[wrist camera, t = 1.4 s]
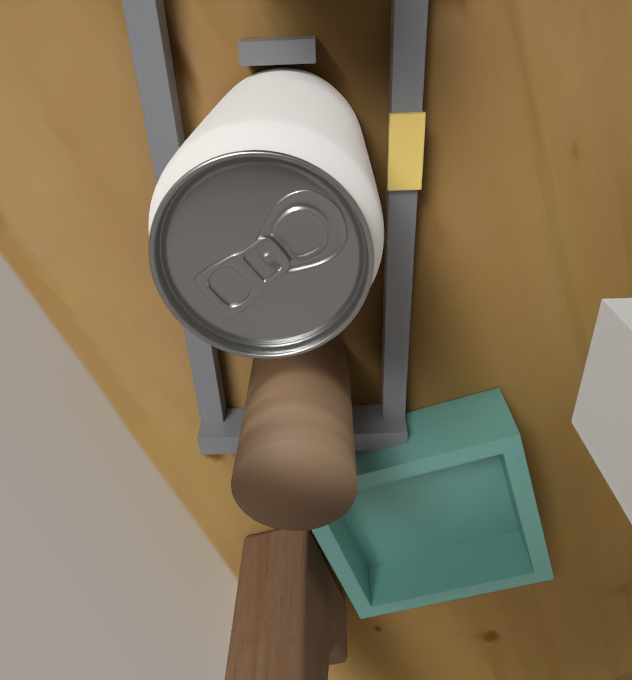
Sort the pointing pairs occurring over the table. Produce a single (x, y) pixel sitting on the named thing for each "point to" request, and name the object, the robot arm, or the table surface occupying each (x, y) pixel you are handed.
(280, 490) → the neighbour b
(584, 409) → the robot arm
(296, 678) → the wooden block
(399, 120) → the grey flat open frame
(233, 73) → the table surface
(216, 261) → the can
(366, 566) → the tray
